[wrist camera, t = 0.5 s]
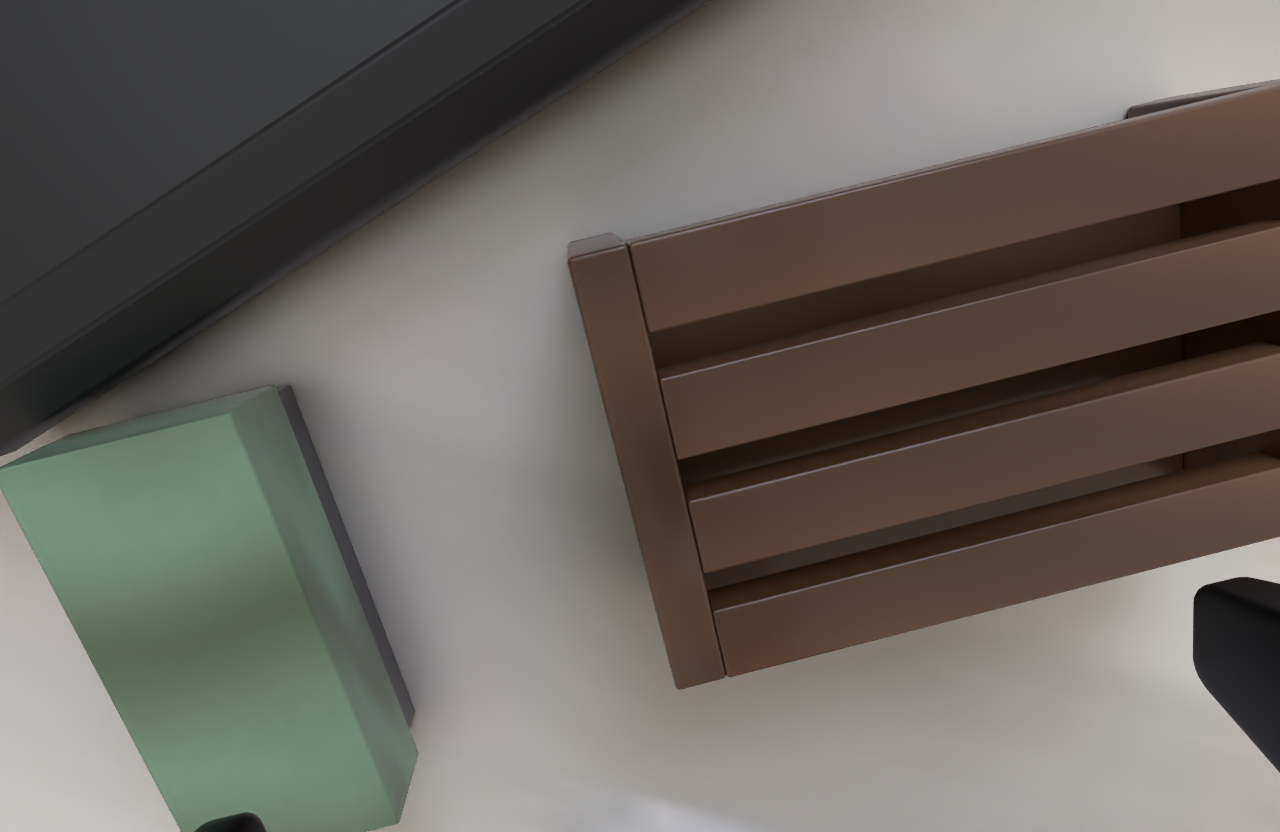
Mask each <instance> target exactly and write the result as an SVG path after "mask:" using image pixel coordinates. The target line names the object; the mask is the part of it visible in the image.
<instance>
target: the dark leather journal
mask: <svg viewBox="0 0 1280 832" xmlns="http://www.w3.org/2000/svg"><path fill="white" fill-rule="evenodd" d="M709 1H711V0H0V456H2V455H5V454H8V453H11V452H13V451H16V450H18V449H19V448H21V447H22V446H24V445H25V444H27V443H29V442H30V441H32V440H33V439H35V438H36V437H38V436H39V435H41V434H42V433H44V432H46V431H47V430H49V429H50V428H52V427H53V426H55V425H56V424H58V423H59V422H61V421H62V420H64V419H66V418H67V417H69V416H70V415H72V414H73V413H75V412H76V411H78V410H79V409H81V408H83V407H84V406H86V405H87V404H89V403H90V402H92V401H93V400H95V399H96V398H98V397H100V396H101V395H103V394H104V393H106V392H107V391H109V390H110V389H112V388H113V387H115V386H117V385H118V384H120V383H121V382H123V381H124V380H126V379H127V378H129V377H130V376H132V375H133V374H135V373H137V372H138V371H140V370H141V369H143V368H144V367H146V366H147V365H149V364H150V363H152V362H154V361H155V360H157V359H158V358H160V357H161V356H163V355H164V354H166V353H167V352H169V351H171V350H172V349H174V348H175V347H177V346H178V345H180V344H181V343H183V342H184V341H186V340H187V339H189V338H191V337H192V336H194V335H195V334H197V333H198V332H200V331H201V330H203V329H204V328H206V327H208V326H209V325H211V324H212V323H214V322H215V321H217V320H218V319H220V318H221V317H223V316H225V315H226V314H228V313H229V312H231V311H232V310H234V309H235V308H237V307H238V306H240V305H241V304H243V303H245V302H246V301H248V300H249V299H251V298H252V297H254V296H255V295H257V294H258V293H260V292H262V291H263V290H265V289H266V288H268V287H269V286H271V285H272V284H274V283H275V282H277V281H279V280H280V279H282V278H283V277H285V276H286V275H288V274H289V273H291V272H292V271H294V270H295V269H297V268H299V267H300V266H302V265H303V264H305V263H306V262H308V261H309V260H311V259H312V258H314V257H316V256H317V255H319V254H320V253H322V252H323V251H325V250H326V249H328V248H329V247H331V246H333V245H334V244H336V243H337V242H339V241H340V240H342V239H343V238H345V237H346V236H348V235H349V234H351V233H353V232H354V231H356V230H357V229H359V228H360V227H362V226H363V225H365V224H366V223H368V222H370V221H371V220H373V219H374V218H376V217H377V216H379V215H380V214H382V213H383V212H385V211H387V210H388V209H390V208H391V207H393V206H394V205H396V204H397V203H399V202H400V201H402V200H403V199H405V198H407V197H408V196H410V195H411V194H413V193H414V192H416V191H417V190H419V189H420V188H422V187H424V186H425V185H427V184H428V183H430V182H431V181H433V180H434V179H436V178H437V177H439V176H441V175H442V174H444V173H445V172H447V171H448V170H450V169H451V168H453V167H454V166H456V165H457V164H459V163H461V162H462V161H464V160H465V159H467V158H468V157H470V156H471V155H473V154H474V153H476V152H478V151H479V150H481V149H482V148H484V147H485V146H487V145H488V144H490V143H491V142H493V141H494V140H496V139H498V138H499V137H501V136H502V135H504V134H505V133H507V132H508V131H510V130H511V129H513V128H515V127H516V126H518V125H519V124H521V123H522V122H524V121H525V120H527V119H528V118H530V117H532V116H533V115H535V114H536V113H538V112H539V111H541V110H542V109H544V108H545V107H547V106H548V105H550V104H552V103H553V102H555V101H556V100H558V99H559V98H561V97H562V96H564V95H565V94H567V93H569V92H570V91H572V90H573V89H575V88H576V87H578V86H579V85H581V84H582V83H584V82H586V81H587V80H589V79H590V78H592V77H593V76H595V75H596V74H598V73H599V72H601V71H602V70H604V69H606V68H607V67H609V66H610V65H612V64H613V63H615V62H616V61H618V60H619V59H621V58H623V57H624V56H626V55H627V54H629V53H630V52H632V51H633V50H635V49H636V48H638V47H640V46H641V45H643V44H644V43H646V42H647V41H649V40H650V39H652V38H653V37H655V36H657V35H658V34H660V33H661V32H663V31H664V30H666V29H667V28H669V27H670V26H672V25H674V24H675V23H677V22H678V21H680V20H681V19H683V18H684V17H686V16H687V15H689V14H691V13H692V12H694V11H695V10H697V9H698V8H700V7H701V6H703V5H704V4H706V3H708V2H709Z"/></svg>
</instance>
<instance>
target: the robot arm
mask: <svg viewBox="0 0 1280 832" xmlns="http://www.w3.org/2000/svg"><path fill="white" fill-rule="evenodd" d="M1193 661H1194V665H1195V669H1196V671H1197V674H1198V676H1199V678H1200V680H1201V681H1202V683H1203V684H1204V686H1205V687H1206V688H1207V690H1208V691H1209V692H1210V693H1211V694H1212V696H1213V697H1214V698H1215V699H1216V700H1217V701H1218V702H1219V704H1220V705H1221V706H1222V707H1223V708H1224V709H1225V710H1226V712H1227V713H1228V714H1229V715H1230V716H1231V717H1232V718H1233V720H1234V721H1235V722H1236V723H1237V724H1238V725H1239V726H1240V728H1241V729H1242V730H1243V731H1244V732H1245V733H1246V734H1247V736H1248V737H1249V738H1250V739H1251V740H1252V741H1253V742H1254V744H1255V745H1256V746H1257V747H1258V748H1259V749H1260V750H1261V752H1262V753H1263V754H1264V755H1265V756H1266V757H1267V758H1268V760H1269V761H1270V762H1271V763H1272V764H1273V765H1274V766H1275V768H1276V769H1277V770H1278V771H1279V772H1280V584H1278V583H1273V582H1268V581H1264V580H1259V579H1255V578H1249V577H1238V578H1233V579H1229V580H1225V581H1220V582H1216V583H1212V584H1208V585H1205V586H1203V587H1202V588H1200V589H1199V590H1198V591H1197V593H1196V595H1195V597H1194V611H1193ZM194 832H267V831H266V829H265V826H264V824H263V822H262V821H261V819H260V818H259V817H258V816H257V815H256V814H254V813H250V812H244V813H239V814H235V815H231V816H227V817H222V818H218V819H214V820H211V821H208V822H206V823H204V824H203V825H201V826H200V827H199V828H198V829H196V830H195V831H194Z"/></svg>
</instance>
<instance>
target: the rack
mask: <svg viewBox="0 0 1280 832" xmlns="http://www.w3.org/2000/svg"><path fill="white" fill-rule="evenodd" d="M567 263H568V267H569V271H570V275H571V279H572V283H573V287H574V291H575V294H576V298H577V302H578V306H579V310H580V314H581V318H582V322H583V326H584V330H585V334H586V338H587V342H588V346H589V349H590V353H591V357H592V361H593V365H594V369H595V373H596V377H597V381H598V385H599V389H600V393H601V397H602V401H603V405H604V408H605V412H606V416H607V420H608V424H609V428H610V432H611V436H612V440H613V444H614V448H615V452H616V456H617V460H618V463H619V467H620V471H621V475H622V479H623V483H624V487H625V491H626V495H627V499H628V503H629V507H630V511H631V515H632V518H633V522H634V526H635V530H636V534H637V538H638V542H639V546H640V550H641V554H642V558H643V562H644V566H645V570H646V573H647V577H648V581H649V585H650V589H651V593H652V597H653V601H654V605H655V609H656V613H657V617H658V621H659V625H660V628H661V632H662V636H663V640H664V644H665V648H666V652H667V656H668V660H669V664H670V668H671V672H672V676H673V680H674V683H675V687H676V688H677V689H679V690H680V689H684V688H688V687H692V686H696V685H700V684H704V683H708V682H712V681H716V680H720V679H723V678H725V675H727V676H728V677H733V676H737V675H741V674H745V673H749V672H752V671H756V670H760V669H764V668H768V667H772V666H776V665H780V664H784V663H788V662H792V661H795V660H799V659H803V658H807V657H811V656H815V655H819V654H823V653H827V652H831V651H835V650H838V649H842V648H846V647H850V646H854V645H858V644H862V643H866V642H870V641H874V640H878V639H881V638H885V637H889V636H893V635H897V634H901V633H905V632H909V631H913V630H917V629H921V628H924V627H928V626H932V625H936V624H940V623H944V622H948V621H952V620H956V619H960V618H964V617H967V616H971V615H975V614H979V613H983V612H987V611H991V610H995V609H999V608H1003V607H1007V606H1010V605H1014V604H1018V603H1022V602H1026V601H1030V600H1034V599H1038V598H1042V597H1046V596H1050V595H1053V594H1057V593H1061V592H1065V591H1069V590H1073V589H1077V588H1081V587H1085V586H1089V585H1093V584H1096V583H1100V582H1104V581H1108V580H1112V579H1116V578H1120V577H1124V576H1128V575H1132V574H1136V573H1139V572H1143V571H1147V570H1151V569H1155V568H1159V567H1163V566H1167V565H1171V564H1175V563H1179V562H1182V561H1186V560H1190V559H1194V558H1198V557H1202V556H1206V555H1210V554H1214V553H1218V552H1222V551H1225V550H1229V549H1233V548H1237V547H1241V546H1245V545H1249V544H1253V543H1257V542H1261V541H1265V540H1268V539H1272V538H1276V537H1280V79H1277V80H1271V81H1265V82H1259V83H1253V84H1247V85H1241V86H1235V87H1229V88H1223V89H1217V90H1211V91H1205V92H1199V93H1193V94H1187V95H1181V96H1175V97H1169V98H1165V99H1161V100H1157V101H1153V102H1149V103H1144V104H1140V105H1136V106H1132V107H1130V108H1129V109H1128V119H1125V120H1121V121H1117V122H1113V123H1109V124H1105V125H1101V126H1096V127H1092V128H1088V129H1084V130H1080V131H1076V132H1072V133H1067V134H1063V135H1059V136H1055V137H1051V138H1047V139H1043V140H1039V141H1034V142H1030V143H1026V144H1022V145H1018V146H1014V147H1010V148H1005V149H1001V150H997V151H993V152H989V153H985V154H981V155H977V156H972V157H968V158H964V159H960V160H956V161H952V162H948V163H943V164H939V165H935V166H931V167H927V168H923V169H919V170H915V171H910V172H906V173H902V174H898V175H894V176H890V177H886V178H882V179H877V180H873V181H869V182H865V183H861V184H857V185H853V186H848V187H844V188H840V189H836V190H832V191H828V192H824V193H820V194H815V195H811V196H807V197H803V198H799V199H795V200H791V201H786V202H782V203H778V204H774V205H770V206H766V207H762V208H758V209H753V210H749V211H745V212H741V213H737V214H733V215H729V216H724V217H720V218H716V219H712V220H708V221H704V222H700V223H696V224H691V225H687V226H683V227H679V228H675V229H671V230H667V231H663V232H658V233H654V234H650V235H646V236H642V237H638V238H634V239H629V240H626V241H621V240H620V239H619V238H617V237H616V236H615V235H614V234H613V233H607V234H602V235H598V236H594V237H590V238H586V239H582V240H578V241H573V242H570V243H569V244H568V261H567Z"/></svg>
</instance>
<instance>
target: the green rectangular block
mask: <svg viewBox="0 0 1280 832" xmlns="http://www.w3.org/2000/svg"><path fill="white" fill-rule="evenodd" d="M0 489H1V491H2V493H3V494H4V496H5V498H6V500H7V502H8V504H9V506H10V508H11V510H12V512H13V513H14V515H15V517H16V519H17V521H18V523H19V525H20V527H21V529H22V531H23V532H24V534H25V536H26V538H27V540H28V542H29V544H30V546H31V548H32V550H33V551H34V553H35V555H36V557H37V559H38V561H39V563H40V565H41V567H42V569H43V570H44V572H45V574H46V576H47V578H48V580H49V582H50V584H51V586H52V587H53V589H54V591H55V593H56V595H57V597H58V599H59V601H60V603H61V605H62V606H63V608H64V610H65V612H66V614H67V616H68V618H69V620H70V622H71V624H72V625H73V627H74V629H75V631H76V633H77V635H78V637H79V639H80V641H81V643H82V644H83V646H84V648H85V650H86V652H87V654H88V656H89V658H90V660H91V662H92V663H93V665H94V667H95V669H96V671H97V673H98V675H99V677H100V679H101V681H102V682H103V684H104V686H105V688H106V690H107V692H108V694H109V696H110V698H111V699H112V701H113V703H114V705H115V707H116V709H117V711H118V713H119V715H120V717H121V718H122V720H123V722H124V724H125V726H126V728H127V730H128V732H129V734H130V736H131V737H132V739H133V741H134V743H135V745H136V747H137V749H138V751H139V753H140V755H141V756H142V758H143V760H144V762H145V764H146V766H147V768H148V770H149V772H150V774H151V775H152V777H153V779H154V781H155V783H156V785H157V787H158V789H159V791H160V793H161V794H162V796H163V798H164V800H165V802H166V804H167V806H168V808H169V810H170V811H171V813H172V815H173V817H174V819H175V821H176V823H177V825H178V827H179V829H180V830H181V832H194V831H195V830H196V829H198V828H199V827H200V826H201V825H203V824H204V823H206V822H208V821H211V820H214V819H218V818H222V817H227V816H231V815H235V814H239V813H244V812H250V813H254V814H256V815H257V816H258V817H259V818H260V819H261V821H262V822H263V824H264V826H265V829H266V831H267V832H367V831H371V830H374V829H378V828H382V827H386V826H390V825H394V824H398V823H399V822H400V818H401V815H402V811H403V807H404V804H405V800H406V796H407V793H408V789H409V785H410V782H411V778H412V774H413V771H414V767H415V763H416V759H417V756H418V751H417V748H416V745H415V743H414V740H413V738H412V735H411V733H410V727H411V724H412V720H413V717H414V714H415V710H414V707H413V705H412V702H411V699H410V697H409V694H408V692H407V689H406V686H405V684H404V681H403V678H402V676H401V673H400V671H399V668H398V665H397V663H396V660H395V658H394V655H393V652H392V650H391V647H390V645H389V642H388V639H387V637H386V634H385V632H384V629H383V626H382V624H381V621H380V618H379V616H378V613H377V611H376V608H375V605H374V603H373V600H372V598H371V595H370V592H369V590H368V587H367V585H366V582H365V579H364V577H363V574H362V571H361V569H360V566H359V564H358V561H357V558H356V556H355V553H354V551H353V548H352V545H351V543H350V540H349V538H348V535H347V532H346V530H345V527H344V525H343V522H342V519H341V517H340V514H339V511H338V509H337V506H336V504H335V501H334V498H333V496H332V493H331V491H330V488H329V485H328V483H327V480H326V478H325V475H324V472H323V470H322V467H321V464H320V462H319V459H318V457H317V454H316V451H315V449H314V446H313V444H312V441H311V438H310V436H309V433H308V431H307V428H306V425H305V423H304V420H303V418H302V415H301V412H300V410H299V407H298V404H297V402H296V399H295V397H294V394H293V391H292V389H291V386H290V385H284V386H279V387H276V386H275V385H270V386H266V387H262V388H257V389H253V390H249V391H245V392H241V393H237V394H233V395H229V396H225V397H220V398H216V399H212V400H208V401H204V402H200V403H196V404H192V405H188V406H184V407H179V408H175V409H171V410H167V411H163V412H159V413H155V414H151V415H147V416H143V417H138V418H134V419H130V420H126V421H122V422H118V423H114V424H110V425H106V426H102V427H97V428H93V429H89V430H85V431H81V432H77V433H73V434H69V435H67V436H65V437H62V438H60V439H58V440H56V441H54V442H52V443H50V444H48V445H46V446H44V447H41V448H39V449H37V450H35V451H33V452H31V453H29V454H27V455H25V456H22V457H20V458H18V459H16V460H14V461H12V462H10V463H8V464H6V465H3V466H1V467H0Z"/></svg>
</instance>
